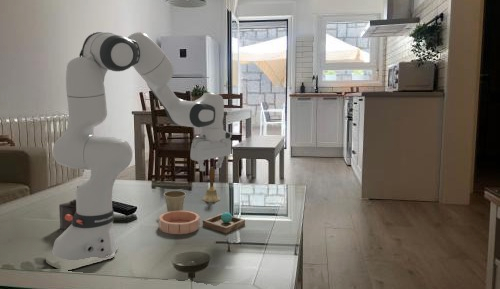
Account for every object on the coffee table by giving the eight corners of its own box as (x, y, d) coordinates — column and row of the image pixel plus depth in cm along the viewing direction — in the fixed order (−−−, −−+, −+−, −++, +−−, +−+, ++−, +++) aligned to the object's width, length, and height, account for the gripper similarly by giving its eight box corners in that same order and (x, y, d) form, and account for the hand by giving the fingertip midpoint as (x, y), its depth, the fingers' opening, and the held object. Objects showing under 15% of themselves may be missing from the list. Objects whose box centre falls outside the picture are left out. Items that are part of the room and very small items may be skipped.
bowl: (179, 237, 154) (179, 227, 154) (150, 227, 163) (150, 217, 163) (207, 226, 167) (207, 216, 166) (179, 217, 176) (179, 207, 175)
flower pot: (164, 217, 175) (164, 197, 173) (162, 210, 184) (162, 191, 182) (187, 216, 177) (187, 196, 176) (184, 208, 186) (184, 190, 185)
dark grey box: (57, 228, 159) (55, 182, 156) (83, 220, 168) (82, 177, 164) (81, 239, 150) (79, 190, 147) (107, 230, 159) (107, 184, 156)
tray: (226, 233, 160) (226, 228, 160) (202, 225, 167) (202, 220, 167) (244, 224, 170) (245, 219, 170) (222, 217, 177) (222, 213, 177)
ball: (225, 221, 166) (230, 211, 167) (217, 218, 168) (222, 208, 170) (230, 226, 169) (235, 216, 171) (222, 223, 171) (227, 213, 173)
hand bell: (219, 202, 197) (220, 169, 194) (201, 201, 197) (202, 168, 194) (220, 197, 205) (221, 165, 202) (203, 196, 205) (204, 164, 203)
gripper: (199, 137, 154) (198, 174, 156) (234, 133, 170) (232, 167, 172) (186, 135, 158) (186, 171, 160) (222, 132, 174) (221, 164, 176)
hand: (210, 169), depth 166 cm, fingers open, 8 cm apart
